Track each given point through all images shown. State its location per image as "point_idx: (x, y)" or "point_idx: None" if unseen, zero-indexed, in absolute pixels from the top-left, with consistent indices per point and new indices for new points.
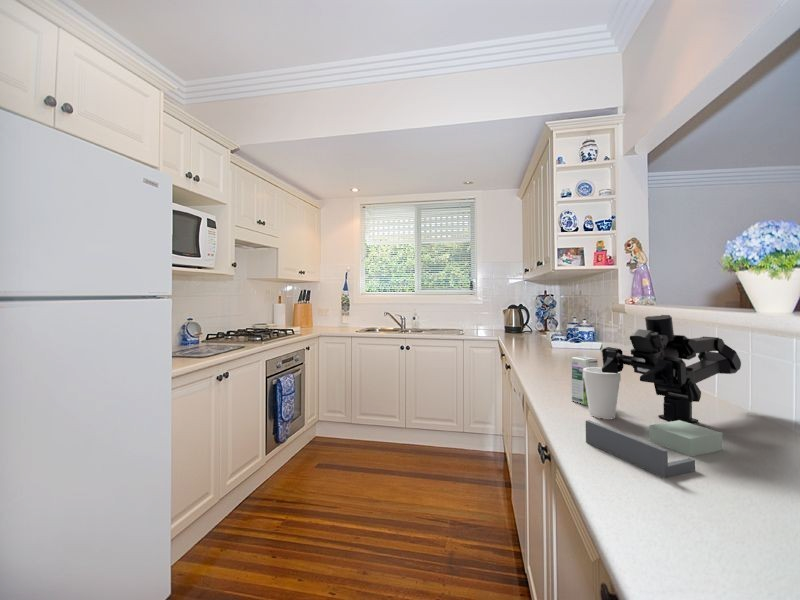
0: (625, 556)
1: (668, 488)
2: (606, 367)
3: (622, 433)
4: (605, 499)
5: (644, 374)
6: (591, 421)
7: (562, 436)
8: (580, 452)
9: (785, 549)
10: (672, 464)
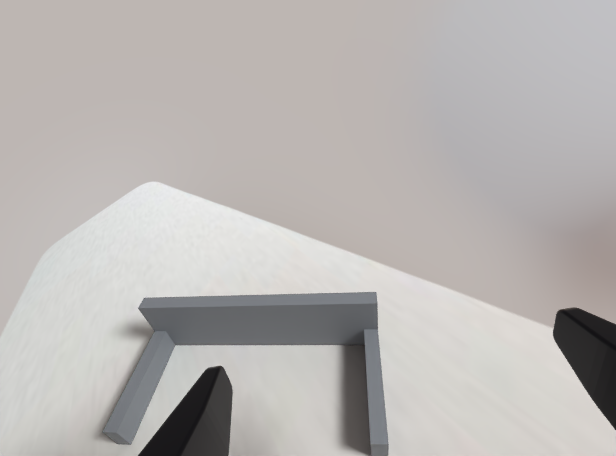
0: (161, 192)
1: None
2: (599, 352)
3: (252, 303)
4: (209, 223)
5: (191, 400)
6: (363, 301)
7: (430, 307)
8: (329, 282)
9: (24, 302)
10: (148, 348)
